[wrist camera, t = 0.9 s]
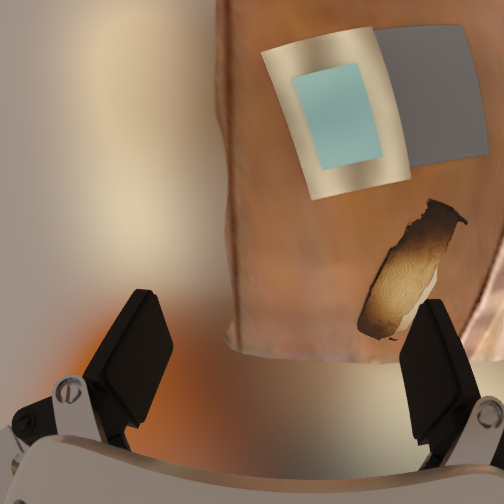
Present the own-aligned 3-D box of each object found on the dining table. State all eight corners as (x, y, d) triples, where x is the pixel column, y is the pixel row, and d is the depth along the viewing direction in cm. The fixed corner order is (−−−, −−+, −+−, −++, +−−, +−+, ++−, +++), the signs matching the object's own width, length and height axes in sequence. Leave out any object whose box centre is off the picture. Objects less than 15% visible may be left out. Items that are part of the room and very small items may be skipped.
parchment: (395, 341, 45) (396, 345, 44) (344, 332, 45) (344, 336, 44) (470, 214, 31) (472, 216, 30) (412, 190, 32) (414, 193, 31)
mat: (460, 25, 19) (462, 25, 18) (487, 153, 26) (489, 154, 26) (368, 31, 23) (369, 31, 22) (405, 167, 30) (406, 168, 30)
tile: (354, 64, 22) (357, 62, 20) (378, 152, 26) (383, 156, 25) (293, 78, 24) (292, 78, 22) (321, 164, 28) (322, 170, 27)
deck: (364, 32, 23) (371, 26, 20) (401, 167, 30) (411, 178, 27) (266, 56, 26) (260, 52, 23) (311, 187, 34) (311, 200, 30)
